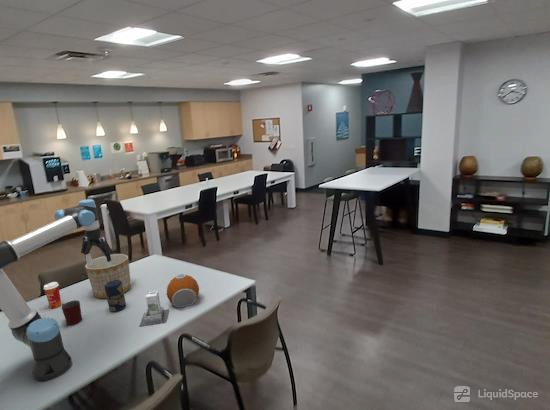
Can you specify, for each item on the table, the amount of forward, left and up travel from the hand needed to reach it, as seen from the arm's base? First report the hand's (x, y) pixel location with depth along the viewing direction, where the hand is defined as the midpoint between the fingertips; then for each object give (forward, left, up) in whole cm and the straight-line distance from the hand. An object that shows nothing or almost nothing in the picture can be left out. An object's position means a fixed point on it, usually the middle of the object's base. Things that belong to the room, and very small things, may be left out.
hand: (99, 266), depth 188 cm
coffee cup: (+6, +52, -34) cm, 62 cm away
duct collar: (+9, -23, -34) cm, 42 cm away
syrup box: (+10, -24, -33) cm, 42 cm away
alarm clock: (+29, -29, -34) cm, 53 cm away
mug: (-5, +24, -34) cm, 42 cm away
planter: (+31, +30, -34) cm, 55 cm away
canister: (+13, +8, -34) cm, 37 cm away
